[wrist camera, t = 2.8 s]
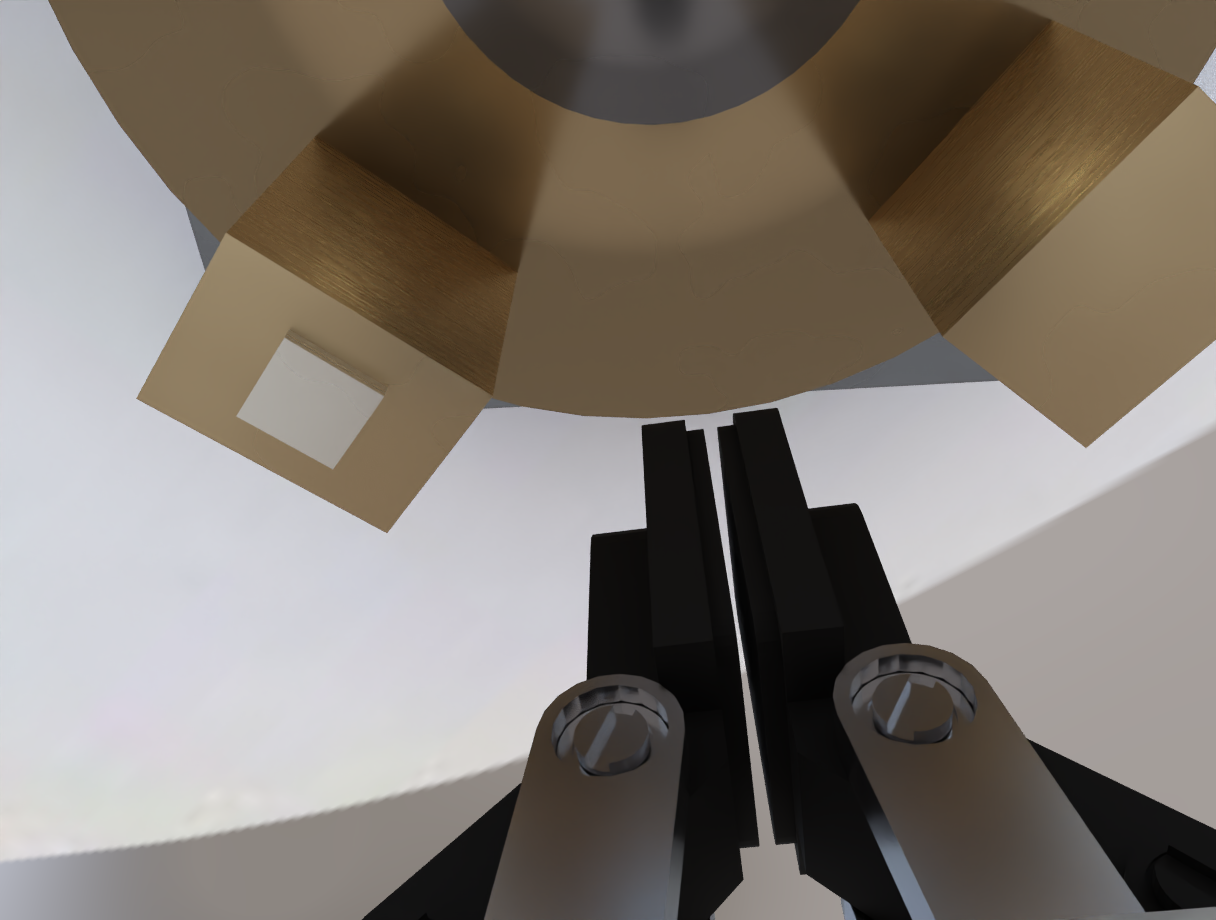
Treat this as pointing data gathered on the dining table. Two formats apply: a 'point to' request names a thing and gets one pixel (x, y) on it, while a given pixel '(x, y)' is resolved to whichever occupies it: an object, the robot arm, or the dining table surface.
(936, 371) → the mounting plate
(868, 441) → the dining table surface
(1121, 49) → the ring nut
